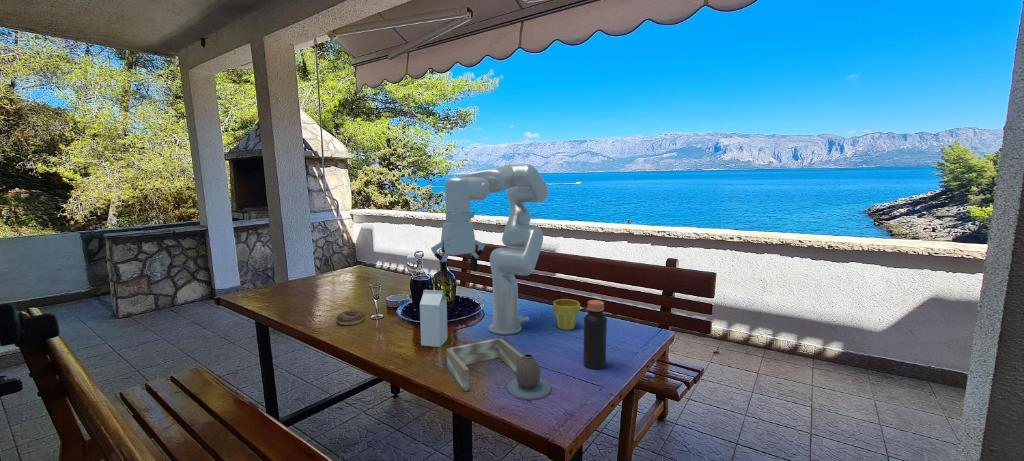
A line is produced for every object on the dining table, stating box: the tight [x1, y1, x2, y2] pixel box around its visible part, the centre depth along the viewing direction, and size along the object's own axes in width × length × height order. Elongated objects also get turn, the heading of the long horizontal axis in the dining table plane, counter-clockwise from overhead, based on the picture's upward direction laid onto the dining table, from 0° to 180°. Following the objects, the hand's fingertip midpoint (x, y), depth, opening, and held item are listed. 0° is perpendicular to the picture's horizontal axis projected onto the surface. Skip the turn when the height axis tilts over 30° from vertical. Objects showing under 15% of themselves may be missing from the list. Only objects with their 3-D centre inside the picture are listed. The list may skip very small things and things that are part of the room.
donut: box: [336, 309, 366, 326], centre depth 165 cm, size 11×11×4 cm
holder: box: [445, 337, 524, 392], centre depth 121 cm, size 18×16×6 cm
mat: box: [506, 377, 552, 401], centre depth 112 cm, size 12×12×1 cm
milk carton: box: [419, 289, 448, 348], centre depth 142 cm, size 7×7×19 cm
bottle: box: [582, 299, 608, 370], centre depth 125 cm, size 7×7×20 cm
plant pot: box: [552, 298, 581, 331], centre depth 158 cm, size 10×10×10 cm
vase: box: [515, 353, 542, 389], centre depth 111 cm, size 7×7×9 cm
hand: (459, 272), depth 128 cm, fingers open, 9 cm apart
